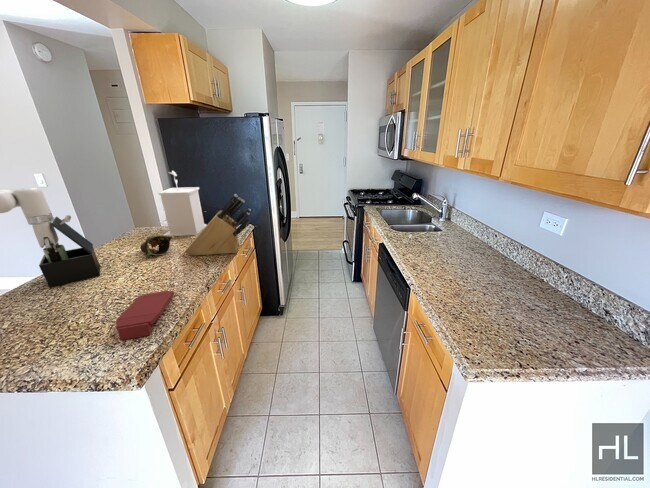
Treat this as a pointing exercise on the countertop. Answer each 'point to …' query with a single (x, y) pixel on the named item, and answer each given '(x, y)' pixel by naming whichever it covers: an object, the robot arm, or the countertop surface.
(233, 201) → the knife block
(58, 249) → the cup
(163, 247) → the pot
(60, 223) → the lid
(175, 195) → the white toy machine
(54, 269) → the box
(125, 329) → the carton
